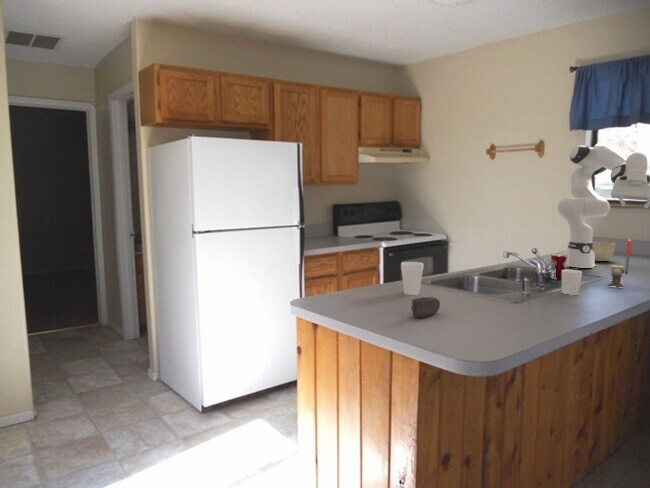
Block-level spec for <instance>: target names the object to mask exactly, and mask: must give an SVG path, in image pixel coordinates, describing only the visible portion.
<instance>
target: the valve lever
mask: <svg viewBox="0 0 650 488" xmlns="http://www.w3.org/2000/svg"><path fill="white" fill-rule="evenodd" d="M631 248H632V240H631V239H627V240H626V247H625V249H626V250H625V256H626V259H625V269H624V275H629V264H630V256H631V250H632V249H631Z"/></svg>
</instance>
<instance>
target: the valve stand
mask: <svg viewBox="0 0 650 488" xmlns="http://www.w3.org/2000/svg"><path fill="white" fill-rule="evenodd" d="M623 274H625V269H624V266H623V265H616V264H615V265H614V264H611V274H610V276H611V278H612V279H611V280H610V279H609V280H608V281H609V282H608V287H609V286H616V287H623V288H624V281H623V280H622V277H623Z"/></svg>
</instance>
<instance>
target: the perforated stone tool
mask: <svg viewBox="0 0 650 488" xmlns="http://www.w3.org/2000/svg"><path fill="white" fill-rule="evenodd" d="M411 303H412V304H411V308H410V309H411V311H412V316H413V317H415V318H417V319H422V318H426V317H430V316H432V315H435V314H436V313H437V312H438V311H439V309H440V307H441V303H440V300H439V299H437V298H436V297H433V296H432V297H431V296H427V297H425V296H424V297H420V298H414V299H412V300H411Z"/></svg>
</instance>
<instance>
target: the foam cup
mask: <svg viewBox="0 0 650 488" xmlns="http://www.w3.org/2000/svg"><path fill="white" fill-rule="evenodd" d="M424 266H425V265H424V263H423V262H419V261H403V262H401V263H400V269H401V277H402V285H403V293H404V295H407V296H408V295H409V296H418V295H420V292H421V291H420V290H421V289H420V288H421V285H422V277H423V270H424Z"/></svg>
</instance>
